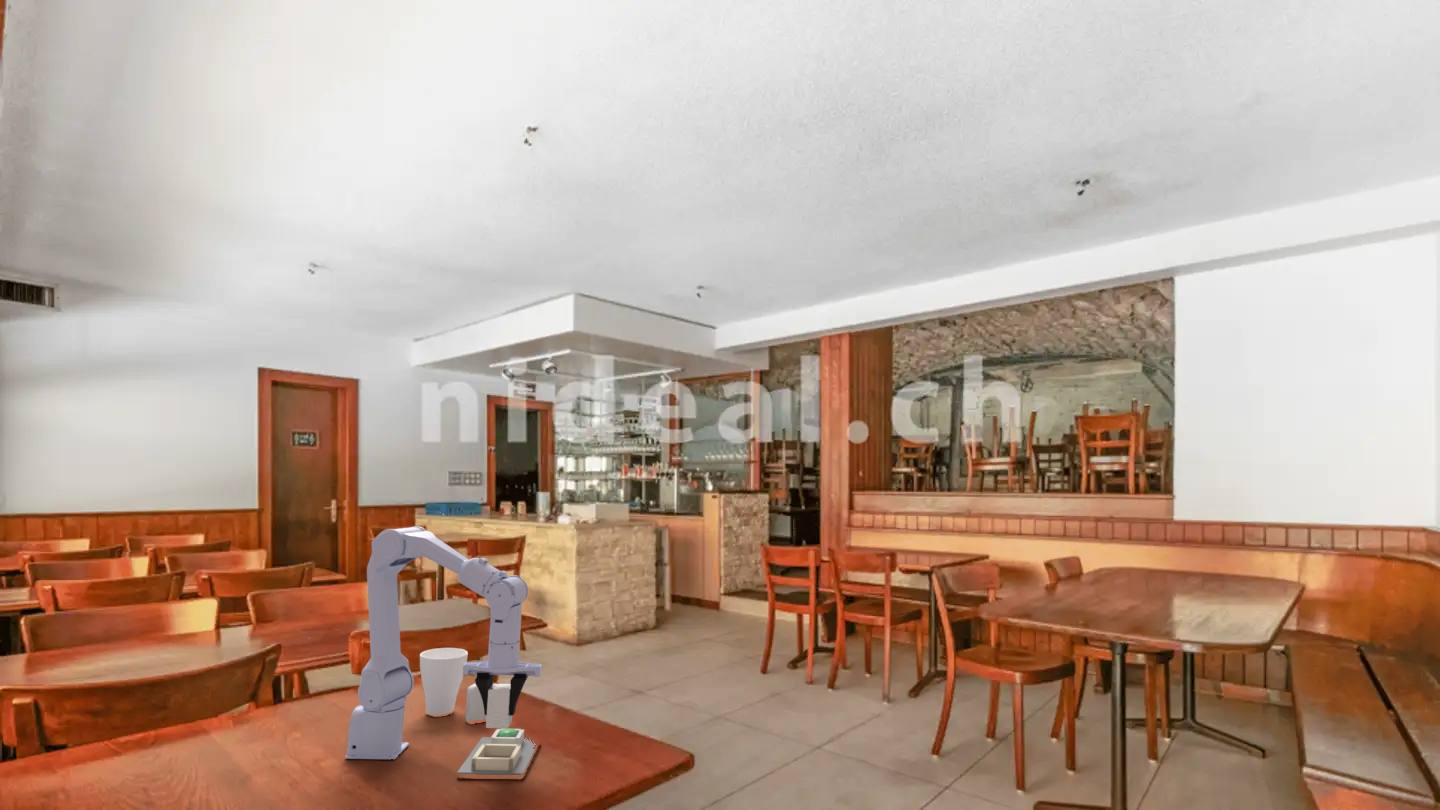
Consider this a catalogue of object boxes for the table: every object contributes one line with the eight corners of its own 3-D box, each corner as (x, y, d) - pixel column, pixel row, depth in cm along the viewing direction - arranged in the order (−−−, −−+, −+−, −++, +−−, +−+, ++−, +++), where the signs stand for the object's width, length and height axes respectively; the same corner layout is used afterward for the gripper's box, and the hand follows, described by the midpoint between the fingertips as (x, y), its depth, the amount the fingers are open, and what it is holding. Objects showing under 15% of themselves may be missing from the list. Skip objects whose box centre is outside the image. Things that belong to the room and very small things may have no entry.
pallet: (456, 779, 137) (458, 759, 137) (481, 743, 155) (482, 726, 155) (523, 780, 137) (524, 761, 138) (540, 744, 155) (541, 727, 156)
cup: (405, 715, 170) (409, 654, 171) (441, 703, 179) (445, 645, 180) (437, 724, 165) (442, 661, 166) (473, 711, 174) (477, 652, 175)
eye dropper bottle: (468, 718, 169) (471, 663, 170) (493, 718, 170) (496, 664, 171) (463, 724, 165) (466, 669, 166) (488, 725, 165) (492, 669, 166)
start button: (497, 746, 149) (498, 733, 150) (501, 740, 153) (501, 728, 153) (513, 746, 150) (514, 734, 150) (516, 740, 153) (517, 728, 153)
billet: (485, 727, 141) (488, 689, 141) (491, 720, 145) (493, 683, 145) (507, 728, 141) (509, 690, 141) (511, 721, 145) (514, 684, 145)
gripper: (546, 637, 149) (541, 707, 147) (471, 635, 148) (467, 706, 147) (539, 645, 142) (535, 719, 140) (461, 643, 141) (456, 718, 139)
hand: (499, 713), depth 143 cm, fingers closed on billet, 4 cm apart
